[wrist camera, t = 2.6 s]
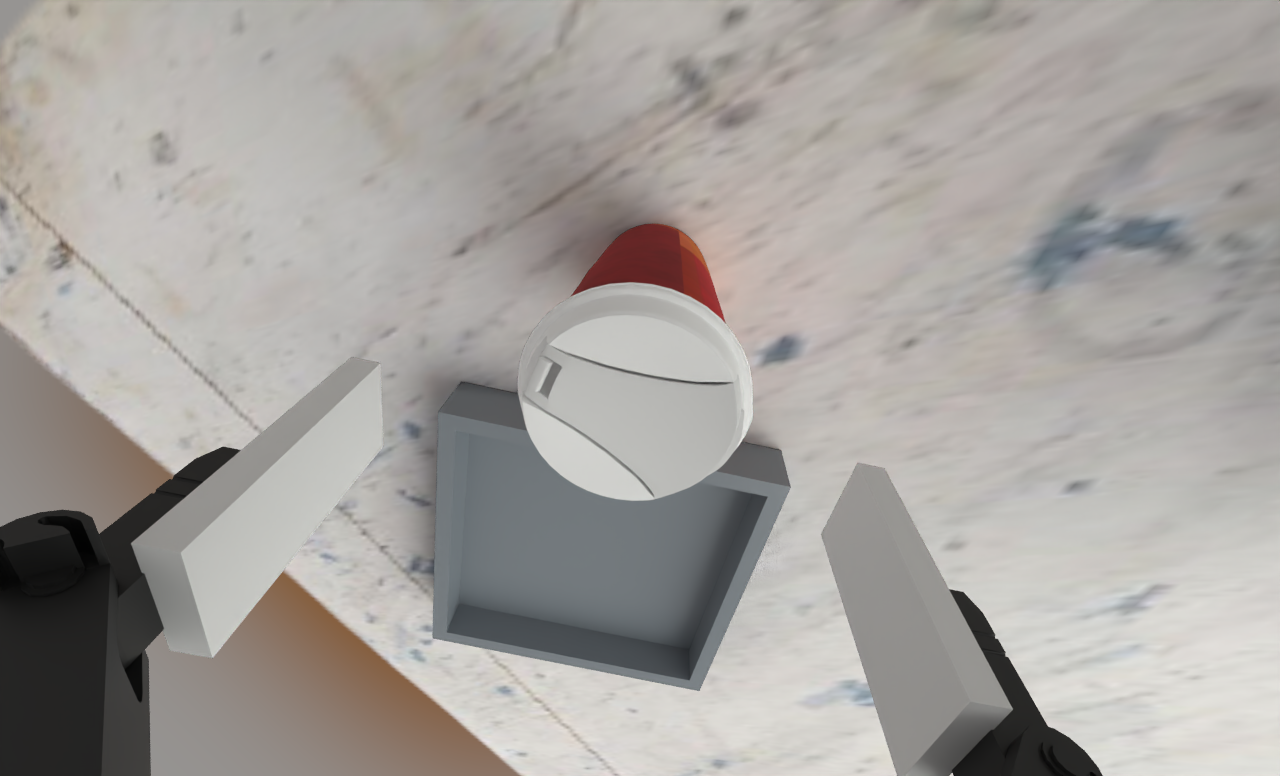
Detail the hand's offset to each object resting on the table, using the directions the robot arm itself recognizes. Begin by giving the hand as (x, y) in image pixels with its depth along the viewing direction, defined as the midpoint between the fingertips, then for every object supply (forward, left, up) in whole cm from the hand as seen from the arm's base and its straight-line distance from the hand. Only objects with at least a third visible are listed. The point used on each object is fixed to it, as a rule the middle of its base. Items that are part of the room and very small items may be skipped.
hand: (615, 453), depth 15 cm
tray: (0, +19, -16) cm, 25 cm away
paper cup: (0, 0, -16) cm, 16 cm away
